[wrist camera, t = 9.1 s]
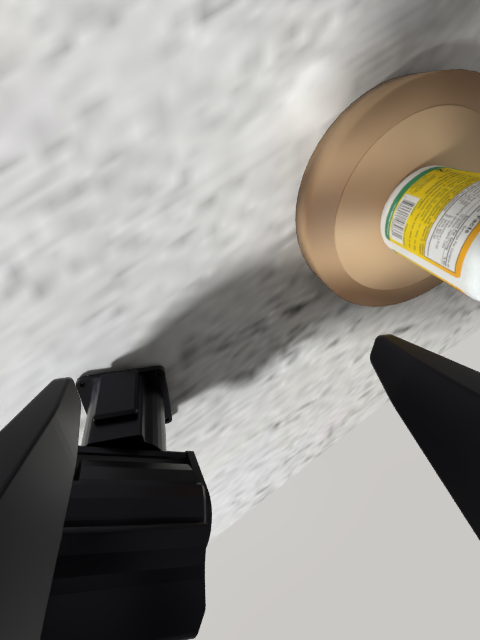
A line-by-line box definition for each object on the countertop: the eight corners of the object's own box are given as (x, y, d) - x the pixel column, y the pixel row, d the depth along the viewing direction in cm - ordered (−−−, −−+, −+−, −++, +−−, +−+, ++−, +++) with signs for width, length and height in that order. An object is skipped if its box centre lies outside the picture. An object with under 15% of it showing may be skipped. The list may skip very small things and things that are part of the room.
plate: (439, 282, 27) (464, 297, 25) (285, 299, 24) (298, 317, 22) (523, 77, 19) (570, 74, 17) (311, 67, 17) (335, 62, 14)
